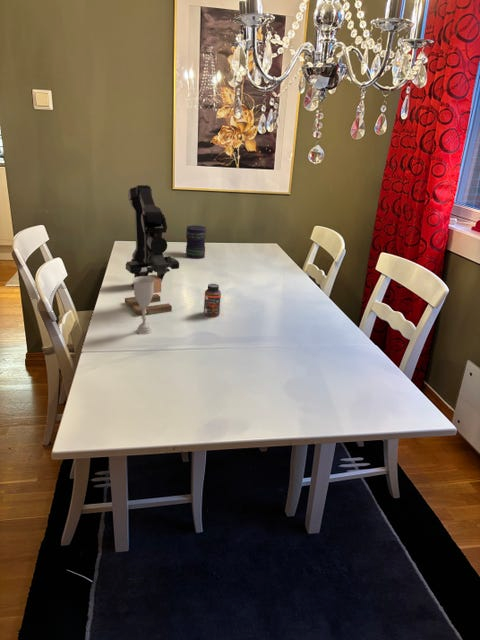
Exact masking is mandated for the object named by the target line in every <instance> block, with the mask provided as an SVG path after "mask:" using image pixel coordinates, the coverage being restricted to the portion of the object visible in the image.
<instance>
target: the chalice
mask: <svg viewBox="0 0 480 640" xmlns="http://www.w3.org/2000/svg"><path fill="white" fill-rule="evenodd" d="M154 281H155V278H153V277H149V276H139V277H135V278H134V277H133V278H132V283H134V286H133V295H134V297H136V300H137V302H138V304H139V305H140V307H142V308H143V310H142V314H143V315H142V316H140V317H141V319H142V322H141V323H140V324H138V327H137V329H136V333H137V334H140V335H149V334H151V333H152V332H153V330H152V327H151V326H150V324H149V323H147V315H146V313H147V312H146V307H147V306H150V301H151V299H152V296H153V294H154V293H153V283H154Z"/></svg>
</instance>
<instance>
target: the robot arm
mask: <svg viewBox="0 0 480 640" xmlns="http://www.w3.org/2000/svg"><path fill="white" fill-rule="evenodd" d="M152 189H153V188H152V187H151V186H150V185H149V184H148V185H147V184H138V185H136V186H135V187H131V188H129V189H128V192H127V195H128V197H127V198H128V201H129V204H130V206H131V208H132V210H133V211H134V227H135V229H134V230H135V231H134V232H135V249H134V251H133V253H132V256H131V257H132V258H131V260H130V261H126V263H125V270H126V271H127V272H128V273H130V274H132V275H134V276H133V278H135V277H139V276H148V275H150V274H153V272H154V273H156V276H158V277H159V278H160V279H161V283H162V281H163V279H164V277H165V275H166V274H167V273H168V272H171V270H177V269H180V262H179V260H177V259H176V258H174V257H172V256H164V255H163V254H164V252H165V251H166V250H167V249H168V242H167V240H166V239H165V238H164V237H163V233H165V234H166V233H167V230H168V225H167V219H166V217H165V214H163V212H162V210H161V208H160V207H158V206H156V203H155V201H154V198H153V190H152ZM169 268H170V269H171V270H170V269H169ZM131 286H133V287H134V282H132V283H131Z"/></svg>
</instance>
